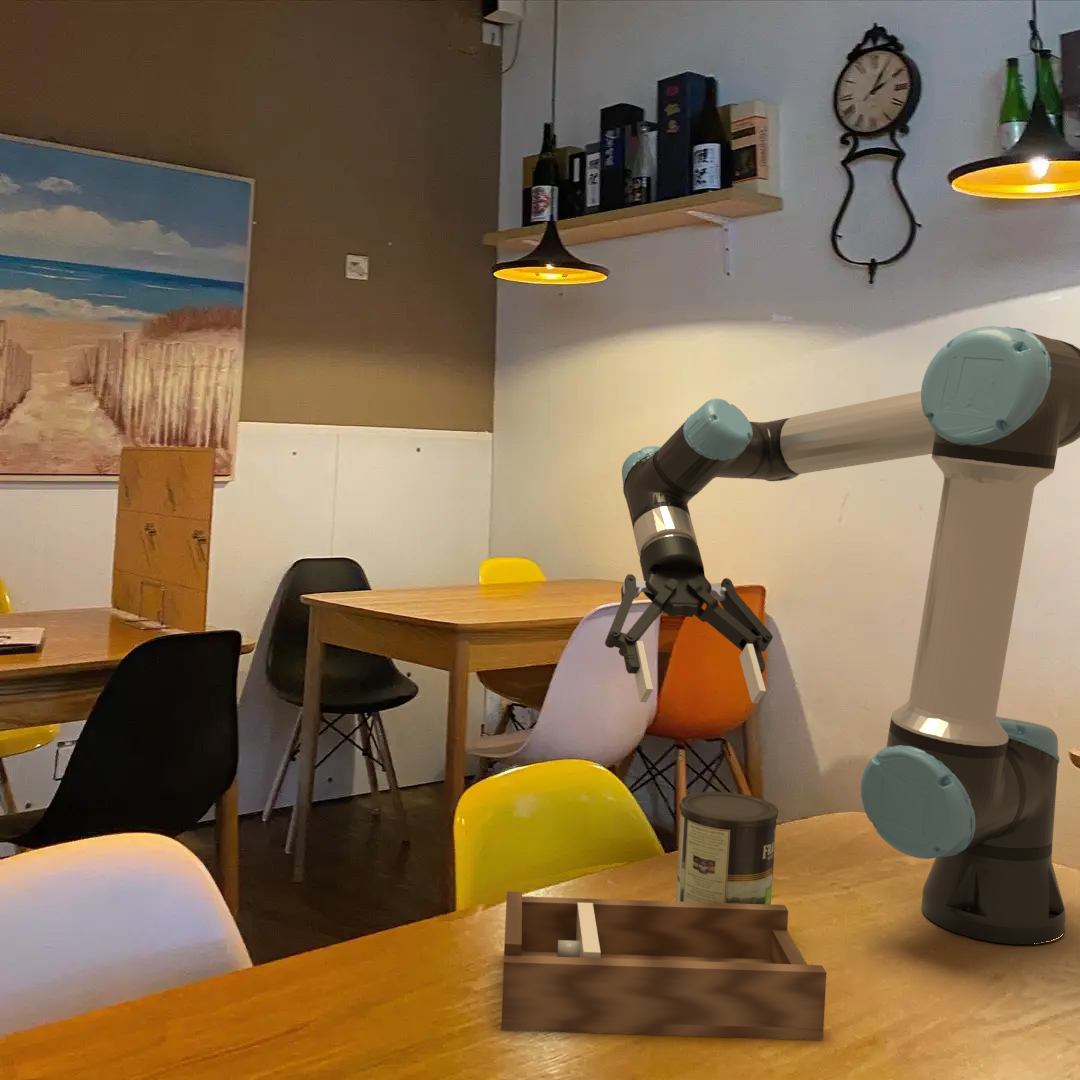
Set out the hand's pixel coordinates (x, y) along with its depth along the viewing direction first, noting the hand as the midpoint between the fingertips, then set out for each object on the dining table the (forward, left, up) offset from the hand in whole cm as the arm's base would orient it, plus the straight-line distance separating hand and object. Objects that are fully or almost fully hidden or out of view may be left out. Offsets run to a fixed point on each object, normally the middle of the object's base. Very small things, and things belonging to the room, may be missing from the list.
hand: (703, 696), depth 130 cm
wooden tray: (+7, +24, -24) cm, 35 cm away
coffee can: (-2, +9, -24) cm, 26 cm away
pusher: (+15, +24, -23) cm, 36 cm away
